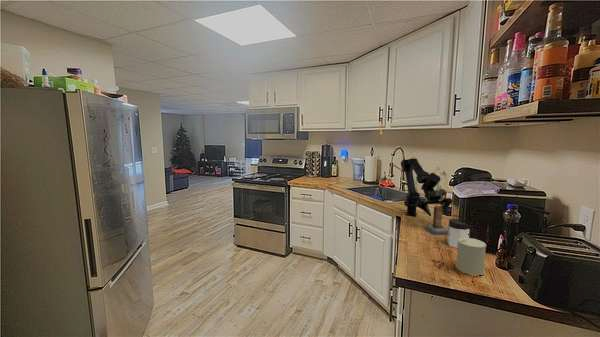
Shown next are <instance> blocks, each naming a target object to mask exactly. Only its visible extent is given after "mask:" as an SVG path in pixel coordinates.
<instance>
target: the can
mask: <svg viewBox="0 0 600 337" xmlns="http://www.w3.org/2000/svg"><path fill="white" fill-rule="evenodd" d="M486 249H487V244H486V243H485V242H484V241H483V240H481V239H480V240H479V239H477V238H471V237H469V238H459V239H458V246H457V248H456V251H457V252H456V261H455V262H456V264H455V269H456V268H457V269H458V270H459V271H458V270H457V269H456V270H457V271H458V272H460V271H461V272H464V273H467V274H471V275H483V274H484V275H485V259H486ZM461 272H460V273H461ZM464 273H463V274H464ZM484 275H483V276H484Z"/></svg>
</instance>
